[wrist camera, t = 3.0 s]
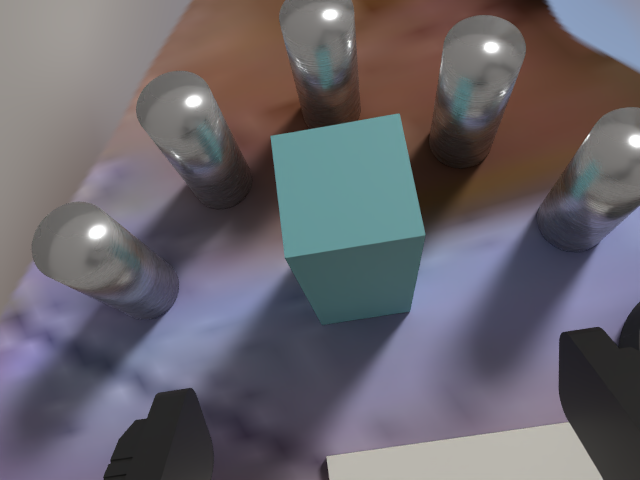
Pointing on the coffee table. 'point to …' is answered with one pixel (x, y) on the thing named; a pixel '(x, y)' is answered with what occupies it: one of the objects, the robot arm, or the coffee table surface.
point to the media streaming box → (631, 330)
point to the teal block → (350, 217)
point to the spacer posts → (325, 110)
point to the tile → (475, 458)
